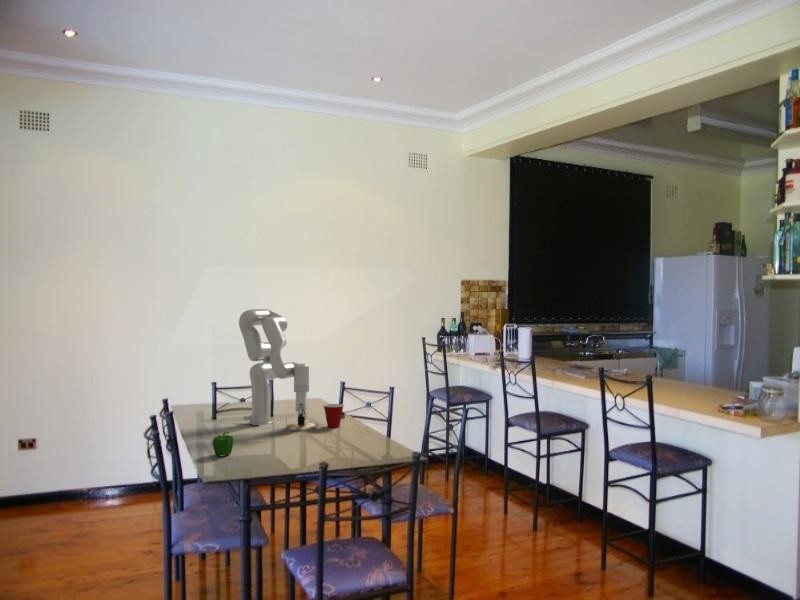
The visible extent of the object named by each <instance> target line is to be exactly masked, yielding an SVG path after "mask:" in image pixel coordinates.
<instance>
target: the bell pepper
mask: <svg viewBox="0 0 800 600" xmlns="http://www.w3.org/2000/svg"><path fill="white" fill-rule="evenodd" d="M229 434H230V430H229V431H228V430H226V431H224V432H222V435H217V436H215V437H213V439H212V447H213V450H214V454H215V455H216V454H218V455H227V454H228V455H230V454H231V453H232V452H233V451H232V450H233V447H234V437H233V436H232V435H229ZM229 453H230V454H229ZM218 455H217V456H218ZM228 455H227V456H228Z"/></svg>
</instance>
